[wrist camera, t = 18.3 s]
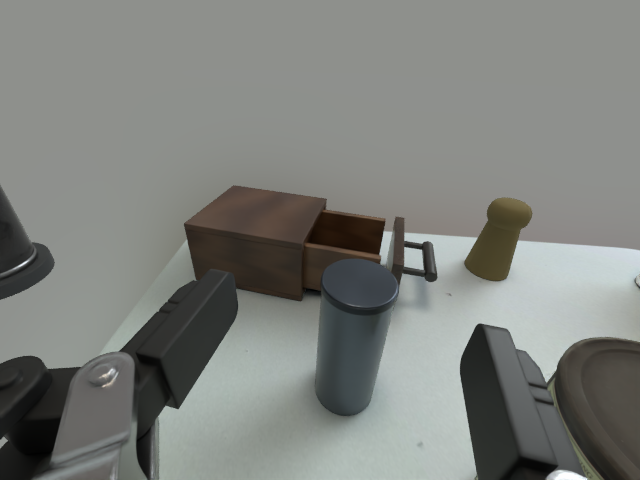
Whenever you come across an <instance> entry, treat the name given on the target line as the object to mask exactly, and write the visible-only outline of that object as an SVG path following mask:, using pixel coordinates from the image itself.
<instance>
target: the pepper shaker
mask: <svg viewBox="0 0 640 480" xmlns="http://www.w3.org/2000/svg"><path fill="white" fill-rule="evenodd" d="M487 217H488V222H487V223H486V225H485V227H484V228H483V230H482V232H481V234H480V235H479V237H478V239H477V241H476V242H475V244H474V246H473V248H472V249H471V251H470V253H469V255H468V256H467V258H466V260H465V266H466V268H467V269H468V270H469V271H470V272H471V273H473V274H475V275H476V276H478V277H481V278H483V279H487V280H492V281H500V280H504V279H506V278H507V276H508V273H509V269H510V266H511V262H512V259H513V255H514V252H515V248H516V245H517V241H518V238H519V234H520V230H521V229H522V228H524V227H525V226H527V224H528V223H529V221H530V220H531V217H532V211H531V208H530V207H529V206H528V205H527V204H526V203H524V202H522V201H520V200H516V199H512V198H498V199H496V200H494V201H493V202H492V203H491V204H490V205H489V207H488V210H487Z"/></svg>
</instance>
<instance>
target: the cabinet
mask: <svg viewBox="0 0 640 480" xmlns="http://www.w3.org/2000/svg"><path fill="white" fill-rule="evenodd" d="M326 200H327V199H324V198H317V197H310V196H303V195H296V194H290V193H282V192H275V191H269V190H262V189H255V188H248V187H241V186H232V187H231V188H229V189H228V190H227V191H226V192H224V193H223V194H222V195H221V196H219V197H218V198H217V199H215V200H214V201H213V202H211V203H210V204H209V205H207V206H206V207H205V208H204V209H202V210H201V211H200V212H198V213H197V214H196V215H194V216H193V217H192V218H191V219H189V220H188V221H187V222H185V223H184V227H185V231H186V235H187V240H188V245H189V249H190V254H191V259H192V263H193V268H194V272H195V277H196V280H200V279H201V278H202V277H203V276H204V274H205V273H206V272H207V271H208V270H210V269H215V270H220V271H225V272H230V273H233V275H234V277H235V285H236V288H239V289H244V290H249V291H254V292H259V293H263V294H268V295H273V296H278V297H283V298H288V299H292V300H297V301H301V300H302V297H303V295H304V293H305V290H306V288H304V287H303V259H304V245H305V243H306V241H307V239H308V237H309V235H310V233H311V232H312V230H313V228H314V226H315V224H316V222H317V220H318V218H319V216H320V214H321V213H322V211H323V209H324V210H326Z"/></svg>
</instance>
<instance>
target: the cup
mask: <svg viewBox="0 0 640 480" xmlns="http://www.w3.org/2000/svg"><path fill="white" fill-rule="evenodd" d="M636 283H637V284H638V285H639V287H640V274H639V275H638V276H637V277H636Z"/></svg>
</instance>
